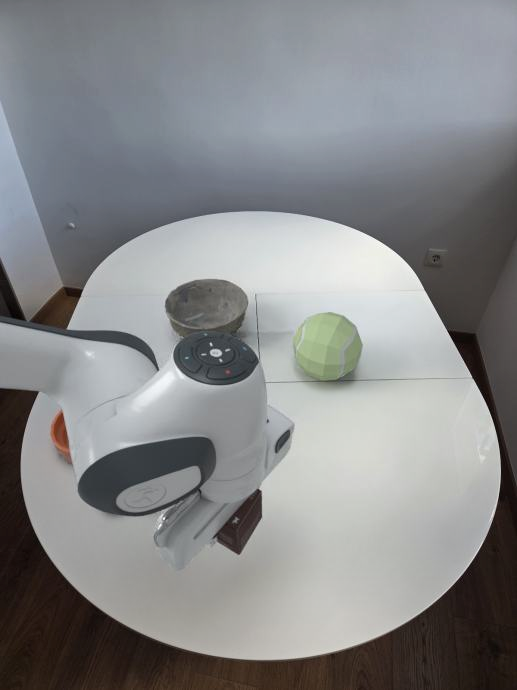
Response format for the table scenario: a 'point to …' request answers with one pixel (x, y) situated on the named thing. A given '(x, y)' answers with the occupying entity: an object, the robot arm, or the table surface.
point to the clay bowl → (60, 436)
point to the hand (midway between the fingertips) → (231, 516)
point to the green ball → (327, 346)
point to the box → (242, 524)
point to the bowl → (206, 307)
